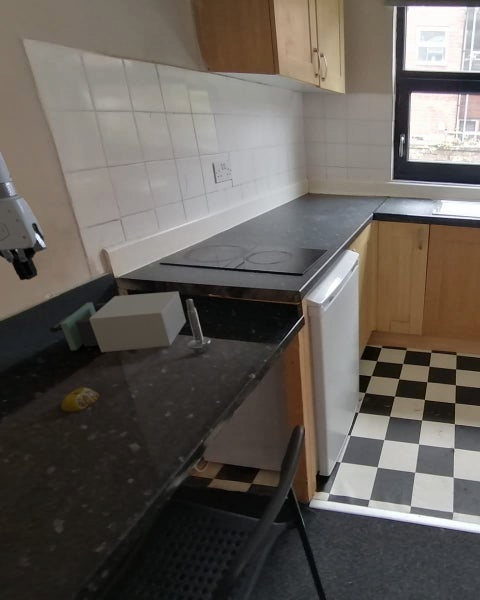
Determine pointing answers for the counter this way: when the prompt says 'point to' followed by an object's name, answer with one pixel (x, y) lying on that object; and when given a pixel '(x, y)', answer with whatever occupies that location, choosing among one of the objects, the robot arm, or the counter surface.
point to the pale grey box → (138, 321)
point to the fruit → (79, 399)
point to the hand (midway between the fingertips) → (29, 277)
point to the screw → (196, 330)
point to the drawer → (79, 326)
